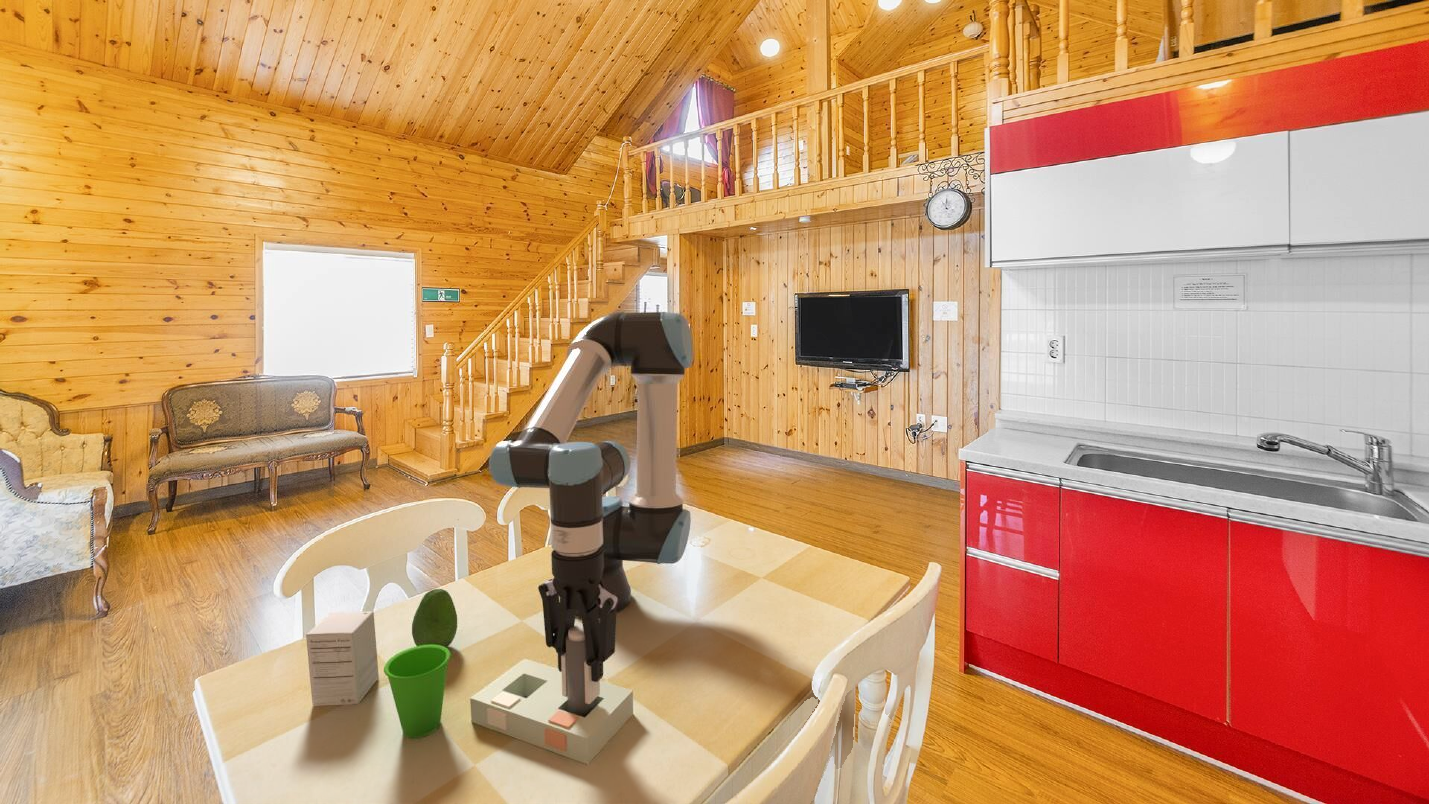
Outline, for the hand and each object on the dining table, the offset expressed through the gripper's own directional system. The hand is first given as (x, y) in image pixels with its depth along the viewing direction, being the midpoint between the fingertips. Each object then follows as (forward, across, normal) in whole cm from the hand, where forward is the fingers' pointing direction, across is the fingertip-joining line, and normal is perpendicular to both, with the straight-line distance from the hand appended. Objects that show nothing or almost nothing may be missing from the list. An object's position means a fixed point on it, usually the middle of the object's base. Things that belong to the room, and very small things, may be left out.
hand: (581, 694), depth 89 cm
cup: (+6, -22, -10) cm, 25 cm away
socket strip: (+5, -6, 0) cm, 8 cm away
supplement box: (+6, -42, -9) cm, 43 cm away
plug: (+4, 0, 0) cm, 4 cm away
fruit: (+6, -39, +7) cm, 40 cm away
